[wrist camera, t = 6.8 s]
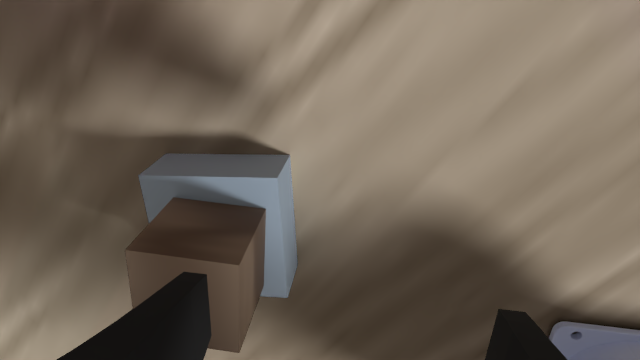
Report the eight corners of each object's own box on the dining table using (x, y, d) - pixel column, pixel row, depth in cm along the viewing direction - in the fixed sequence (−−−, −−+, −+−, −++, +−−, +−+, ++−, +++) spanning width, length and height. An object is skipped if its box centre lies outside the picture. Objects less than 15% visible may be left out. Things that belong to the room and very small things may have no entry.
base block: (291, 151, 21) (277, 178, 18) (298, 260, 23) (287, 297, 20) (169, 150, 21) (138, 175, 19) (189, 255, 24) (164, 290, 21)
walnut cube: (266, 208, 19) (239, 265, 15) (263, 285, 20) (239, 352, 17) (173, 197, 19) (125, 250, 15) (178, 273, 21) (136, 337, 17)
